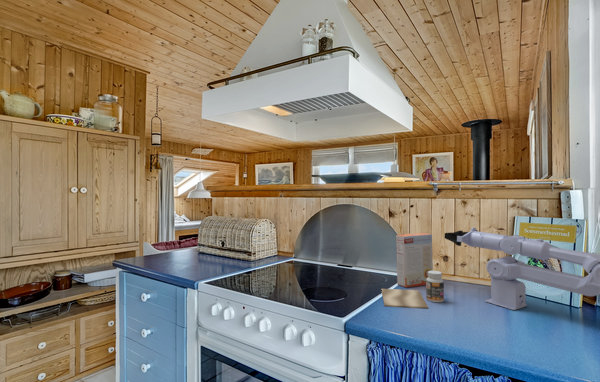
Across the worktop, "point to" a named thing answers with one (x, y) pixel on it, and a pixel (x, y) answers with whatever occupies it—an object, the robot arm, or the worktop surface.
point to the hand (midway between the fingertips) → (451, 235)
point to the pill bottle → (435, 287)
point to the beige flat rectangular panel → (403, 298)
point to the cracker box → (413, 258)
